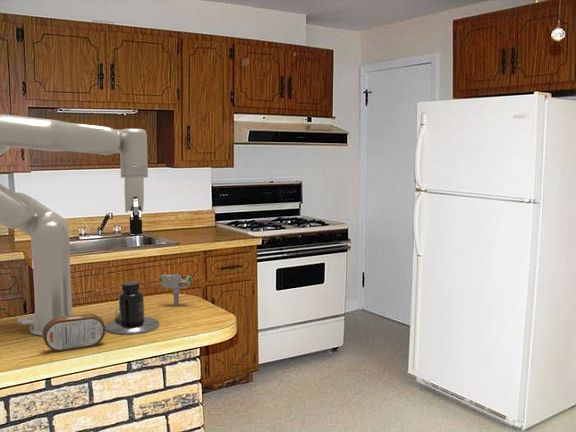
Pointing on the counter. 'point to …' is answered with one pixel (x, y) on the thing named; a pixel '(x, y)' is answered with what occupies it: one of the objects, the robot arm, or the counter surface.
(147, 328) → the plate
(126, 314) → the supplement bottle
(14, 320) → the counter surface
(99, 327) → the tin
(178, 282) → the mechanical component
